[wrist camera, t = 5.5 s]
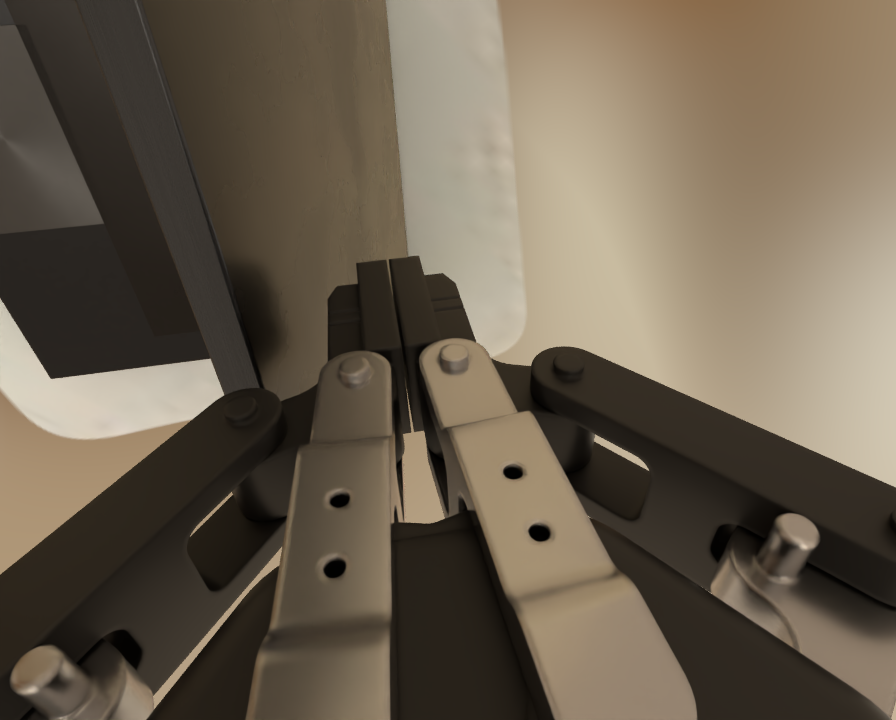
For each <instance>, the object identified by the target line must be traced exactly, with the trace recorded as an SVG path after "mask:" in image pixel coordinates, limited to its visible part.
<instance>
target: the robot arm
mask: <svg viewBox="0 0 896 720" xmlns="http://www.w3.org/2000/svg"><path fill="white" fill-rule="evenodd" d="M389 268H390V276H391V284H390V278H389V272H388V266H387V261H386V260H378V261H369V262H360V263H356V269H357V281H358V284H350V285H342V286H336V288H335V289H334V291H333V292H332V293H331V295H330V296H329V298H328V362H327V363H326V364H325V365H324V366H323V367H322V369H321V371H320V374H319V379H318V383H317V384H316V385H315V386H313V387H312V388H310V389H309V390H307V391H305V392H303V393H301V394H299V395H296V396H293V397H291V398H288V399H285V400H283V401H280V399H279V397H278V396H277V395H276V394H275V393H273V392H271V391H269V390H266V389H261V388H246V389H241V390H237V391H234V392H231V393H229V394H226V395H224V396H223V397H221V398H219V399H218V400H216V401H215V402H214V403H212V404H211V405H210V406H209V407H208V408H206V409H205V410H204V411H203V412H201V413H200V414H199V415H198V416H196V417H195V418H194V419H193V420H191V421H190V422H189V423H188V424H187V425H185V426H184V427H183V428H182V429H180V430H179V431H178V432H177V433H175V434H174V435H173V436H172V437H170V438H169V439H168V440H167V441H165V442H164V443H163V444H162V445H160V447H158V448H157V449H156V450H154V451H153V452H152V453H151V454H149V455H148V456H147V457H146V458H145V459H143V460H142V461H141V462H140V463H138V464H137V465H136V466H134V467H133V468H132V469H131V470H129V471H128V472H127V473H126V474H124V475H123V476H122V477H121V478H120V479H118V480H117V481H116V482H115V483H113V484H112V485H111V486H110V487H108V488H107V489H106V490H105V491H103V492H102V493H101V494H100V495H98V496H97V497H96V498H95V499H94V500H92V501H91V502H90V503H89V504H87V505H86V506H85V507H84V508H82V509H81V510H80V511H79V512H77V513H76V514H75V515H74V516H73V517H71V518H70V519H69V520H67V521H66V522H65V523H64V524H63V525H61V526H60V527H59V528H58V529H56V530H55V531H54V532H53V533H51V534H50V535H49V536H48V537H46V538H45V539H44V540H43V541H42V542H40V543H39V544H38V545H37V546H35V547H34V548H33V549H32V550H30V551H29V552H28V553H27V554H25V555H24V556H23V557H22V558H20V559H19V560H18V561H17V562H16V563H14V564H13V565H12V566H10V567H9V568H8V569H7V570H6V571H4V572H3V573H2V574H1V575H0V720H892V719H891V716H892V713H893V709H894V706H895V702H896V488H895V487H893V486H891V485H889V484H886V483H884V482H882V481H879V480H877V479H875V478H873V477H870V476H868V475H866V474H864V473H861V472H859V471H857V470H855V469H852V468H850V467H848V466H846V465H843V464H841V463H839V462H837V461H834V460H832V459H830V458H827V457H825V456H823V455H821V454H819V453H816V452H814V451H812V450H809V449H807V448H805V447H803V446H800V445H798V444H796V443H794V442H791V441H789V440H787V439H785V438H782V437H780V436H778V435H776V434H773V433H771V432H769V431H767V430H764V429H762V428H760V427H757V426H755V425H753V424H750V423H748V422H746V421H744V420H741V419H739V418H737V417H735V416H732V415H730V414H728V413H726V412H724V411H721V410H719V409H717V408H714V407H712V406H710V405H708V404H705V403H703V402H701V401H699V400H696V399H694V398H692V397H690V396H687V395H685V394H683V393H680V392H678V391H676V390H674V389H671V388H669V387H667V386H665V385H663V384H660V383H658V382H656V381H654V380H651V379H649V378H647V377H644V376H642V375H640V374H638V373H635V372H633V371H631V370H629V369H626V368H624V367H622V366H620V365H617V364H615V363H612V362H611V361H608V360H606V359H604V358H602V357H599V356H597V355H594V354H592V353H590V352H588V351H585V350H583V349H579V348H574V347H554V348H550V349H547V350H544V351H542V352H541V353H539V354H538V355H537V356H536V357H535V358H534V360H533V362H532V365H531V366H522V365H511V364H505V363H501V362H498V361H495V360H493V359H491V358H490V356H489V354H488V352H487V351H486V349H485V348H484V347H483V346H481V345H480V344H478V343H476V340H475V337H474V334H473V332H472V329H471V326H470V323H469V320H468V317H467V315H466V312H465V309H464V307H463V303H462V300H461V298H460V295H459V292H458V289H457V286H456V283H454V282H453V281H452V280H451V279H449V278H448V277H447V276H446V275H444V274H443V273H441V274H433V275H425V276H424V273H423V269H422V265H421V262H420V258H419V256H411V257H403V258H394V259H389ZM391 285H392V289H391ZM392 293H393V295H392ZM405 381H406V382H405ZM406 387H407V391H406ZM407 393H408V399H409V405H410V410H411V416H412V422H413V428H414V432H417V431H424V432H425V437H426V444H427V454H428V461H429V465H430V468H431V471H432V475H433V479H434V482H435V486H436V489H437V493H438V496H439V499H440V503H441V506H442V509H443V513H444V517H445V519H443V520H441V521H438V522H435V523H431V524H422V523H406V510H405V484H404V464H403V454H404V439H403V434H405V433H411V427H410V418H409V409H408V400H407ZM595 434H596V435H598V436H600V437H601V438H604V439H605V440H607V441H609V442H611V443H613V444H615V445H616V446H618V447H620V448H622V449H624V450H626V451H628V452H630V453H632V454H634V455H635V456H637V457H639V458H640V459H641V460H642V461H643V462H644V463H645V464H646V465H647V467H648V469H649V471H648V470H646V469H644V468H642V467H640V466H639V465H637V464H635V463H633V462H631V461H629V460H627V459H626V458H624V457H622V456H620V455H618V454H616V453H614V452H612V451H611V450H609V449H607V448H605V447H603V446H601V445H600V444H598V443H596V442H594V437H595ZM231 492H232V493H233V495H232V496H231V497H230V498H229V499H228V500H227V501H226V502H225V503H224V504H223V505H222V506H221V507H220V508H219V509H218V510H217V511H216V512H215V513H214V514H213V515H212V516H211V517H210V518H209V519H208V520H207V521H206V522H205V523H204V524H203V525H202V526H201V527H200V528H199V529H198V530H197V531H196V532H195V533H194V534H193V535H192V536H191V537H190V535H191V533H192V532H193V530H194V529H195V527H196V526H197V525H198V524H199V523H200V522H201V521H202V520H203V519H204V518H205V517H206V516H207V515H208V514H209V513H210V512H211V511H212V510H213V509H214V508H215V507H216V506H217V505H218V504H219V503H220V502H221V501H222V500H223V499H225V498H226V497H227V496H228V495H229V494H230V493H231ZM588 516H589V517H591V518H589V517H588ZM189 537H190V538H189ZM281 547H282V553H281V559H280V565H279V566H278V567H276V568H275V569H274V570H272V571H271V572H270V573H269V574H268V575H266V576H265V577H264V578H263V579H261V580H260V581H259V582H258V583H257V584H256V585H255V586H254V587H253V588H252V590H250V591H249V593H248V594H247V595H246V596H245V597H244V599H243V600H242V601H241V602H240V604H239V605H238V606H237V607H236V609H235V610H234V611H233V612H232V614H231V615H230V616H229V617H228V618H227V620H226V621H225V622H224V623H223V625H222V626H221V627H220V629H219V630H218V631H217V632H216V633H215V635H214V636H213V637H212V638H211V640H210V641H209V642H208V643H207V645H206V646H205V647H204V648H203V649H202V651H201V652H200V653H199V654H198V656H197V657H196V658H195V659H194V661H193V662H192V663H191V664H190V666H189V667H188V668H187V669H186V671H185V672H184V673H183V674H182V676H181V677H180V678H179V679H178V681H177V682H176V683H175V684H174V686H173V687H172V688H171V689H170V691H169V692H168V693H167V694H166V695H165V697H164V698H163V699H162V700H161V702H160V703H159V704H158V705H157V707H156V708H155V709H154V699H153V696H154V694H155V693H156V692H157V691H158V690H159V688H160V687H161V686H162V685H163V684H164V683H165V682H166V680H167V679H168V678H169V677H170V676H171V675H172V674H173V672H174V671H175V670H176V669H177V668H178V667H179V665H180V664H181V663H182V662H183V661H184V659H186V657H187V656H188V655H189V653H191V652H192V650H193V649H194V648H195V647H196V646H197V645H198V643H199V642H200V641H201V640H202V639H203V638H204V636H205V635H206V634H207V633H208V632H209V631H210V629H211V628H212V627H213V626H214V625H215V624H216V622H217V621H218V620H219V619H220V618H221V617H222V615H223V614H224V613H225V612H226V611H227V610H228V608H229V607H230V606H231V605H232V604H233V603H234V601H235V600H236V599H237V598H238V597H239V596H240V595H241V593H242V592H243V591H244V590H245V589H246V587H247V586H248V585H249V584H250V583H251V582H252V581H253V580H254V578H255V577H256V576H257V575H258V574H259V573H260V571H261V570H262V569H263V568H264V567H265V565H266V564H267V563H268V562H269V561H270V560H271V558H272V557H273V556H274V555H275V554H276V553H277V552H278V550H279V549H280V548H281ZM702 587H703V588H702ZM705 589H706V590H705ZM708 591H709V592H708ZM710 592H711V593H712V594H711V593H710Z"/></svg>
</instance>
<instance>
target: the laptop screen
mask: <svg viewBox="0 0 896 720" xmlns="http://www.w3.org/2000/svg"><path fill="white" fill-rule="evenodd" d="M74 1H75V3H76V6H77V8H78V11H79V14H80V16H81V19H82V22H83V24H84V27H85V29H86V32H87V35H88V37H89V40H90V43H91V45H92V48H93V50H94V53H95V56H96V58H97V61H98V64H99V66H100V69H101V72H102V74H103V77H104V79H105V82H106V85H107V87H108V90H109V93H110V95H111V98H112V100H113V103H114V106H115V108H116V111H117V114H118V116H119V119H120V121H121V124H122V127H123V129H124V132H125V135H126V137H127V140H128V142H129V145H130V148H131V150H132V153H133V156H134V158H135V161H136V164H137V166H138V169H139V171H140V174H141V177H142V179H143V182H144V185H145V187H146V190H147V192H148V195H149V198H150V200H151V203H152V206H153V208H154V211H155V213H156V216H157V219H158V221H159V224H160V227H161V229H162V232H163V234H164V237H165V240H166V242H167V245H168V248H169V250H170V253H171V256H172V258H173V261H174V263H175V266H176V269H177V271H178V274H179V277H180V279H181V282H182V284H183V287H184V290H185V292H186V295H187V298H188V300H189V303H190V305H191V308H192V311H193V313H194V316H195V319H196V321H197V324H198V327H199V329H200V332H201V334H202V337H203V340H204V342H205V345H206V348H207V350H208V353H209V355H210V358H211V361H212V363H213V366H214V369H215V371H216V374H217V376H218V379H219V382H220V384H221V387H222V390H223V392H224V395H226V394H229V393H231V392H234V391H237V390H241V389H246V388H261V389H266V390H269V391H271V392H273V393H275V394H276V395H277V396H278V397H279V399H280V401H283V400H285V399H288V398H291V397H293V396H296V395H299V394H301V393H303V392H305V391H307V390H309V389H310V388H312V387H313V386H315V385H316V384H317V383H318V379H319V374H320V371H321V369H322V367H323V366H324V365H325V364H326V363H327V362H328V298H329V296H330V295H331V293H332V292H333V291H334V289H335V288H336V286H342V285H350V284H358V281H357V269H356V263H360V262H369V261H378V260H386V261H387V266H388V272H389V278H390V284H391V276H390V268H389V259H394V258H403V257H408V251H407V240H406V228H405V217H404V205H403V194H402V182H401V171H400V159H399V148H398V136H397V125H396V113H395V102H394V90H393V79H392V67H391V56H390V44H389V33H388V21H387V10H386V0H74ZM391 289H392V285H391ZM392 295H393V293H392ZM405 382H406V381H405ZM406 388H407V387H406Z"/></svg>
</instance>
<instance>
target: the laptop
mask: <svg viewBox="0 0 896 720" xmlns="http://www.w3.org/2000/svg"><path fill="white" fill-rule="evenodd" d="M0 298H1V300H2V302H3V303H4V305H5V306H6V308H7V310H8V311H9V313H10V314H11V316H12V318H13V319H14V321H15V322H16V324H17V326H18V327H19V329H20V330H21V332H22V334H23V335H24V337H25V338H26V340H27V342H28V343H29V345H30V346H31V348H32V349H33V351H34V353H35V354H36V356H37V357H38V359H39V361H40V362H41V364H42V365H43V367H44V369H45V370H46V372H47V373H48V375H49V377H50V378H51V379H55V378H63V377H70V376H78V375H86V374H94V373H102V372H109V371H117V370H125V369H133V368H140V367H148V366H156V365H164V364H172V363H179V362H187V361H195V360H203V359H211V358H210V355H209V353H208V350H207V348H206V345H205V342H204V340H203V337H202V334H201V332H200V329H199V327H198V324H197V321H196V319H195V316H194V313H193V311H192V308H191V305H190V303H189V300H188V298H187V295H186V292H185V290H184V287H183V284H182V282H181V279H180V277H179V274H178V271H177V269H176V266H175V263H174V261H173V258H172V256H171V253H170V250H169V248H168V245H167V242H166V240H165V237H164V234H163V232H162V229H161V227H160V224H159V221H158V219H157V216H156V213H155V211H154V208H153V206H152V203H151V200H150V198H149V195H148V192H147V190H146V187H145V185H144V182H143V179H142V177H141V174H140V171H139V169H138V166H137V164H136V161H135V158H134V156H133V153H132V150H131V148H130V145H129V142H128V140H127V137H126V135H125V132H124V129H123V127H122V124H121V121H120V119H119V116H118V114H117V111H116V108H115V106H114V103H113V100H112V98H111V95H110V93H109V90H108V87H107V85H106V82H105V79H104V77H103V74H102V72H101V69H100V66H99V64H98V61H97V58H96V56H95V53H94V50H93V48H92V45H91V43H90V40H89V37H88V35H87V32H86V29H85V27H84V24H83V22H82V19H81V16H80V14H79V11H78V8H77V6H76V3H75V1H74V0H0Z"/></svg>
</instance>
